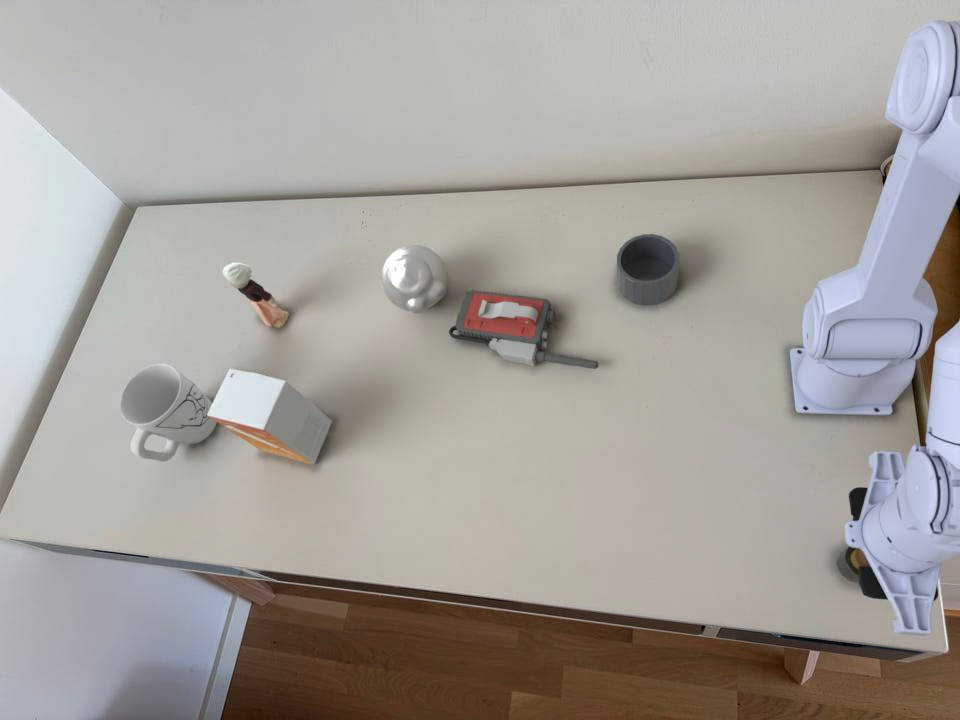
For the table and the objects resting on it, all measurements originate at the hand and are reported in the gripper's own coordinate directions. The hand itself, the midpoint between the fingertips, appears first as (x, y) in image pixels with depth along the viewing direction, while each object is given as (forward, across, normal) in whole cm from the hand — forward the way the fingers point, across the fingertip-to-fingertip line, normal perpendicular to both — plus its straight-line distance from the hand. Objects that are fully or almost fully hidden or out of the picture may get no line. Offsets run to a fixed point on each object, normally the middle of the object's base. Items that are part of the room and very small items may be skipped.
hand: (867, 557), depth 61 cm
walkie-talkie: (+4, -26, -35) cm, 44 cm away
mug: (+4, -11, -80) cm, 81 cm away
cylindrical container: (+4, -34, -20) cm, 40 cm away
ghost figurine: (+4, -32, -50) cm, 60 cm away
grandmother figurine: (+4, -29, -72) cm, 78 cm away
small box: (+4, -11, -64) cm, 65 cm away
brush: (+4, 0, 0) cm, 4 cm away
